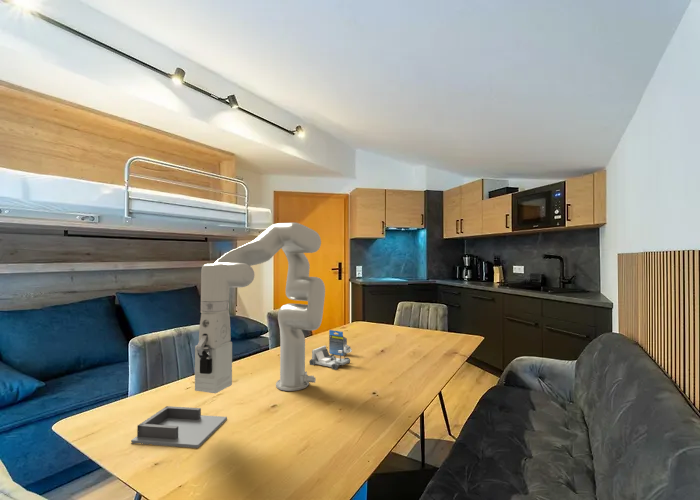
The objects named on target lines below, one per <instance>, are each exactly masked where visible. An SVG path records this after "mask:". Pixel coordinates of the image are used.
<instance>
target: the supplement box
mask: <svg viewBox="0 0 700 500" xmlns="http://www.w3.org/2000/svg"><path fill="white" fill-rule="evenodd" d="M197 345H198V344H197ZM197 345H194V391H195V392H203V393H210V394H218V393H219V392H221V391H224V390H225V389H227V388H229V387H230V386H232V384H233V342H232V341H230V342H229V341H228V342H226V343H224V344H222V345H220V346H218V347H217V348H216V349H215V350H214V349H213V348H212V354H211V358H210V359H212V373H211V374H201V373H200V359H199V355H198V352H197V350H196V346H197ZM205 347H210V346H205ZM205 351H206V352H207V354H208V351H209V350H205Z"/></svg>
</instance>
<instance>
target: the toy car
mask: <svg viewBox="0 0 700 500" xmlns="http://www.w3.org/2000/svg"><path fill="white" fill-rule="evenodd" d="M351 352H352V347H351V346H350V345H348V344H347V345H345V347H344V352H343V351H342V350H338V353H340V355H339V358H338V357H336V356H337V355H336V356H335V354H329V350H328V349H327V345H322V346H320V347H317V348H314V349H312V350H311V359H309V365H311V366H315V365H320V366H324V367H329V368H331V370H334V371H337V370H338V368H339V367H340V366H344V365H346V364H351V359H350V358H349V357H348V356H347V357H346V355H345V353H347V354H348V353H351ZM341 353H344V358H342V356H341Z"/></svg>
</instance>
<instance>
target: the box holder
mask: <svg viewBox="0 0 700 500" xmlns="http://www.w3.org/2000/svg"><path fill="white" fill-rule="evenodd" d="M201 413H202V408H201V407H186V406H185V407H184V406H170V405H166V406H165V407H163V408H162V409H161V410H159V411H158V412H156V413H154V414H153V415H151V416H150V417H148V418H147V419H145V420H144V421H142V422H141V423H139V424H137V426H136V428H137V429H136V431H137V434H136V436H135V437H133V438H132V439H131V440H130V441H131V442H133V443H132V444H135V443H141V444H140V445H149V444H152V446H164V447H176V448H177V447H178V448H179V447H180V448H190V449H192V448H193V449H199V448H200V447H201V446H202V444H204V443H205V442H206V441H207V440H208V439H209V438H210V437H211V436H212V435H213V434H214V433H215V432H216V431H217V430H218V429H219V428H220V427H221V426H222V425H223V424H224V423H225V422H226V421H227V420H228V417H227V416H220V415H219V416H217V415H202V414H201ZM131 442H130V443H131ZM142 443H143V444H142Z"/></svg>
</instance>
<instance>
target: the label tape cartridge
mask: <svg viewBox="0 0 700 500" xmlns="http://www.w3.org/2000/svg"><path fill="white" fill-rule="evenodd" d="M328 331H329V332H328V335H329V337H328V339H329V340H328V342H329V343H328V347H329V348H328V349H329V350H328V353H330V354H329V355H332V354H334V356H335V355H336V356H340V353H338V350H342V351H343V352H344V347H345V345H348V339H347V337H345V336H344V331H340V330H333V329H329V330H328ZM347 354H348V353H345V356H347ZM343 356H344V353H341V357H343Z"/></svg>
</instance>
